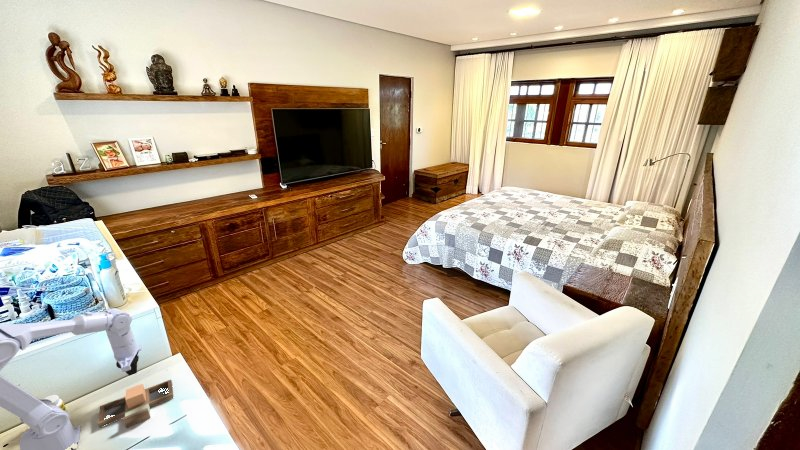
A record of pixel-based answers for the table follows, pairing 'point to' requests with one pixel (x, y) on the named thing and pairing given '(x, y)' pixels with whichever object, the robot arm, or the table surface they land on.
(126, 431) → the table surface
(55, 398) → the supplement bottle
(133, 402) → the block
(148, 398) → the board
